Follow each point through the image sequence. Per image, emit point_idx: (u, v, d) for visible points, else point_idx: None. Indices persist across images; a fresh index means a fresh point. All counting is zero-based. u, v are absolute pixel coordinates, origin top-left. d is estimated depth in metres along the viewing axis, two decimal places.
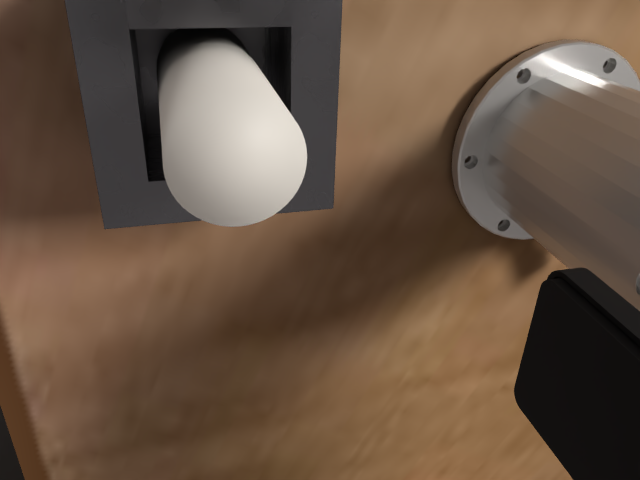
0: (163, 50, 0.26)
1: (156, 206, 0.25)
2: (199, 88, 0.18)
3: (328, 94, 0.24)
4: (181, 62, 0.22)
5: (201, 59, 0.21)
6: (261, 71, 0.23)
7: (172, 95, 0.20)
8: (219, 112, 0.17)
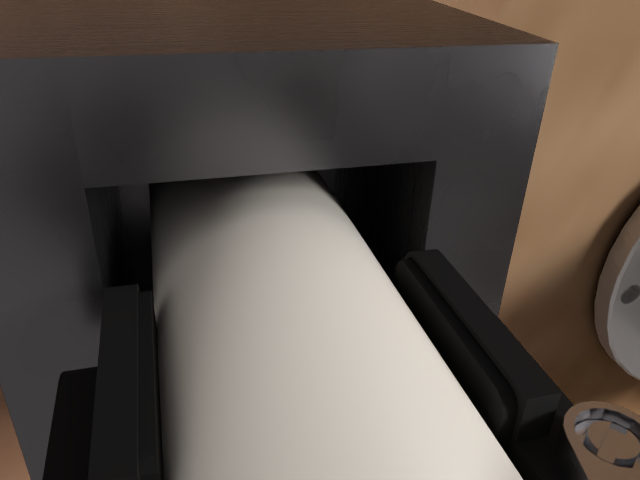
0: None
1: None
2: (276, 444, 0.06)
3: (489, 275, 0.12)
4: (204, 251, 0.10)
5: (253, 261, 0.09)
6: (370, 252, 0.11)
7: (190, 396, 0.07)
8: None
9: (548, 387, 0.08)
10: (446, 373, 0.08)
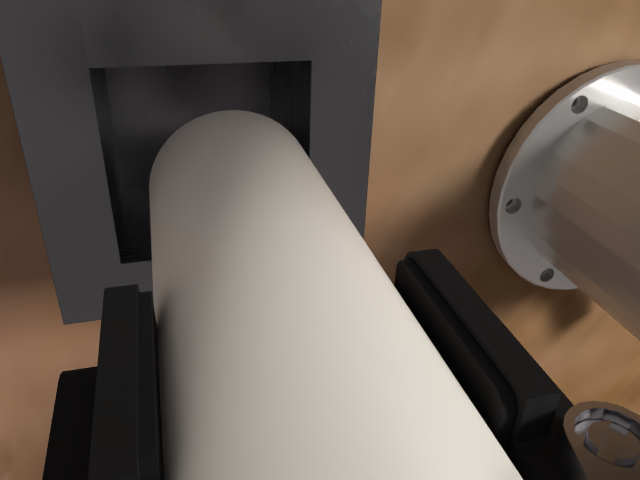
0: (161, 170, 0.14)
1: None
2: (276, 442, 0.06)
3: (358, 146, 0.18)
4: (204, 251, 0.10)
5: (253, 260, 0.09)
6: (370, 251, 0.11)
7: (190, 395, 0.07)
8: None
9: (548, 387, 0.08)
10: (445, 372, 0.08)
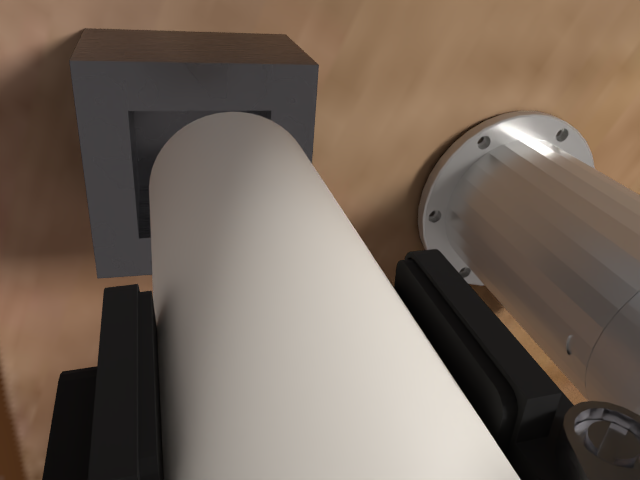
0: (161, 171, 0.14)
1: (145, 259, 0.28)
2: (275, 446, 0.06)
3: None
4: (204, 253, 0.10)
5: (253, 263, 0.09)
6: (370, 253, 0.11)
7: (190, 398, 0.08)
8: None
9: (548, 387, 0.08)
10: (445, 375, 0.08)
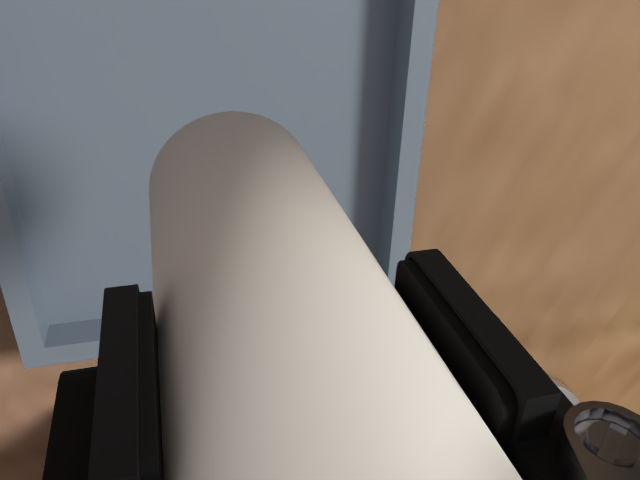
0: (161, 171, 0.14)
1: None
2: (276, 447, 0.06)
3: None
4: (204, 253, 0.10)
5: (254, 263, 0.09)
6: (371, 253, 0.11)
7: (190, 398, 0.07)
8: None
9: (548, 387, 0.08)
10: (447, 375, 0.08)
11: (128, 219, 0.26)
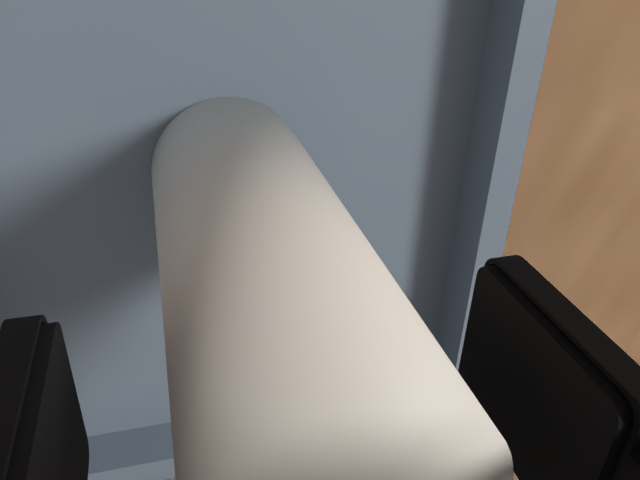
0: (163, 151, 0.15)
1: None
2: (268, 362, 0.07)
3: None
4: (205, 218, 0.11)
5: (248, 224, 0.10)
6: (353, 220, 0.12)
7: (195, 334, 0.09)
8: (330, 452, 0.07)
9: None
10: (414, 314, 0.09)
11: (116, 317, 0.19)
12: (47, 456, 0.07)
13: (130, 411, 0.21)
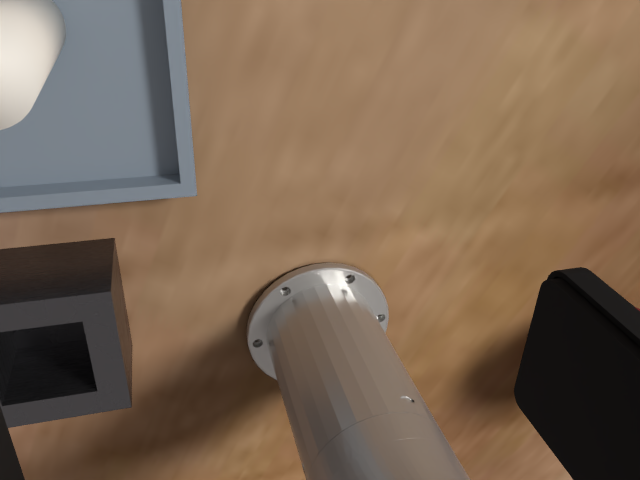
0: None
1: (9, 418, 0.40)
2: None
3: (114, 350, 0.39)
4: None
5: None
6: (35, 18, 0.28)
7: None
8: None
9: None
10: (17, 26, 0.25)
11: None
12: None
13: None
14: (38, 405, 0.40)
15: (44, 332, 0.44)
